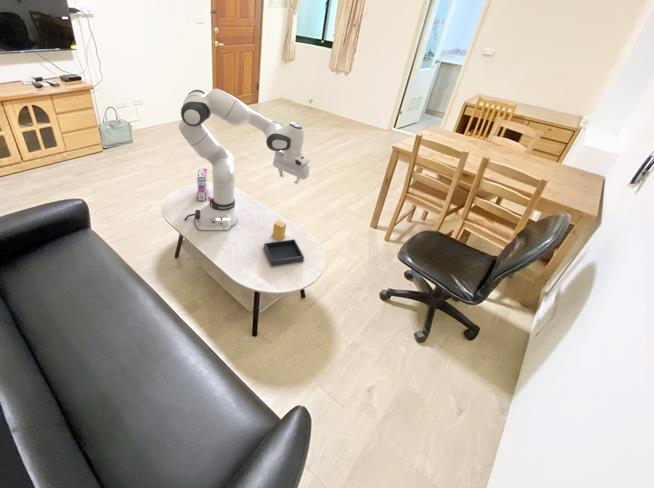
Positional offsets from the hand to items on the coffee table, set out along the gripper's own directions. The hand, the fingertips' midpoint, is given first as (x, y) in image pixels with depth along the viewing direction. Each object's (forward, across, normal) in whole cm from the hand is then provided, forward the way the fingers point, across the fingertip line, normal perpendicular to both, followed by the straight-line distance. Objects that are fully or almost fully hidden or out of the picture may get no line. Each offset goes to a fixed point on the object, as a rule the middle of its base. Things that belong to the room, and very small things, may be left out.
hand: (288, 180), depth 171 cm
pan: (+29, +15, -20) cm, 39 cm away
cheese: (+29, +5, -10) cm, 31 cm away
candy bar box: (+29, -52, -12) cm, 61 cm away
